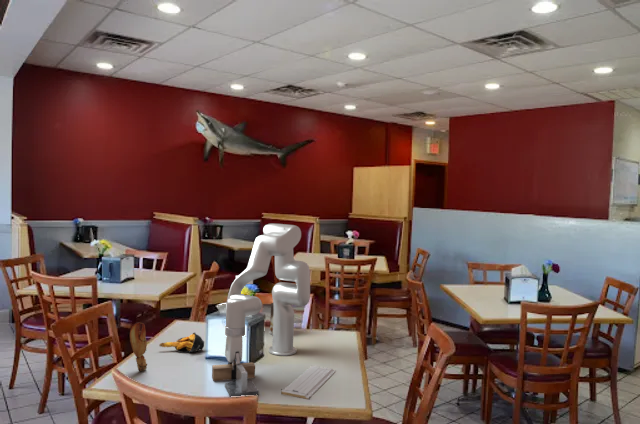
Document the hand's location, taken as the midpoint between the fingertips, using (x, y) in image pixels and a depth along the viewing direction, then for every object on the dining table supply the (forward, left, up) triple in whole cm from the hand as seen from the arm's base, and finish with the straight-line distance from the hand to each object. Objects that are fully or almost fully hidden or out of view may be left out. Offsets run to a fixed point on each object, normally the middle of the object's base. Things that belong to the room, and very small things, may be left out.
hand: (233, 375), depth 197 cm
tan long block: (0, 0, -1) cm, 1 cm away
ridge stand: (+13, 0, -1) cm, 14 cm away
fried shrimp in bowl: (-37, -15, -1) cm, 40 cm away
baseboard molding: (+13, +28, -1) cm, 31 cm away
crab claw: (-16, -34, -1) cm, 38 cm away
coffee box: (-53, +35, -1) cm, 64 cm away
